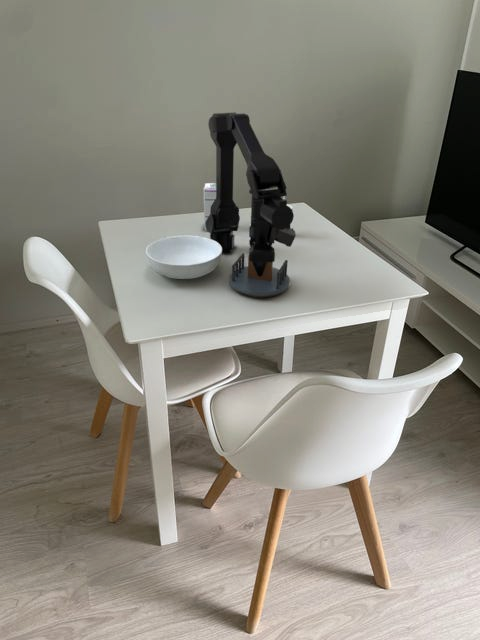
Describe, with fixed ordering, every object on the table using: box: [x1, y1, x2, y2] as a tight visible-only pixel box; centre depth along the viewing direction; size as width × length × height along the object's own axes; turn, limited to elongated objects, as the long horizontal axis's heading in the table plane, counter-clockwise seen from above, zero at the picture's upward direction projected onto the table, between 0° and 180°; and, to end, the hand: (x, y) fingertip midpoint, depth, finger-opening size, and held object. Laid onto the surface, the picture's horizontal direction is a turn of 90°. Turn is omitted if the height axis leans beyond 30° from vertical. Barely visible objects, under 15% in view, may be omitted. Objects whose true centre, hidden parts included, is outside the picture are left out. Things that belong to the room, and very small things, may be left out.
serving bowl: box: [145, 234, 223, 280], centre depth 144 cm, size 21×21×7 cm
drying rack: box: [229, 252, 291, 296], centre depth 137 cm, size 17×16×7 cm
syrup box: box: [202, 182, 216, 232], centre depth 171 cm, size 6×6×14 cm
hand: (259, 272), depth 137 cm, fingers open, 4 cm apart
